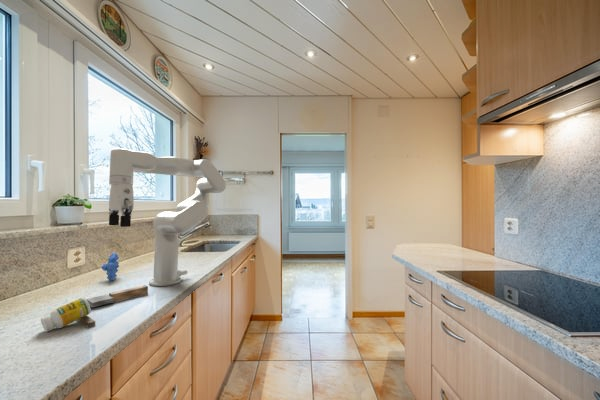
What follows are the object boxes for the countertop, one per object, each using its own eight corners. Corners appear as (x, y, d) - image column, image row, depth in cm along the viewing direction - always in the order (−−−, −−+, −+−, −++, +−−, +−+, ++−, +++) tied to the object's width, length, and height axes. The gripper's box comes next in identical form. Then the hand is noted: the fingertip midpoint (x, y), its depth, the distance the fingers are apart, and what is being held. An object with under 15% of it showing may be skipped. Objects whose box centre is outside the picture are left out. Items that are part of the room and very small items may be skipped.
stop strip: (82, 316, 78) (82, 312, 78) (95, 325, 73) (95, 321, 73) (75, 318, 77) (75, 314, 77) (88, 327, 71) (88, 323, 71)
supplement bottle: (84, 309, 78) (42, 329, 70) (81, 294, 77) (37, 312, 69) (92, 316, 76) (49, 337, 68) (89, 300, 74) (44, 320, 66)
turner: (142, 292, 102) (142, 284, 102) (149, 295, 99) (150, 287, 99) (85, 305, 87) (86, 296, 87) (92, 309, 84) (92, 300, 84)
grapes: (103, 277, 120) (104, 251, 121) (120, 276, 123) (121, 251, 124) (97, 284, 110) (98, 256, 110) (116, 282, 113) (117, 255, 113)
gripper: (143, 181, 97) (141, 226, 96) (122, 183, 106) (120, 224, 106) (120, 179, 91) (118, 227, 90) (100, 181, 100) (98, 225, 100)
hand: (119, 225), depth 98 cm, fingers open, 9 cm apart
